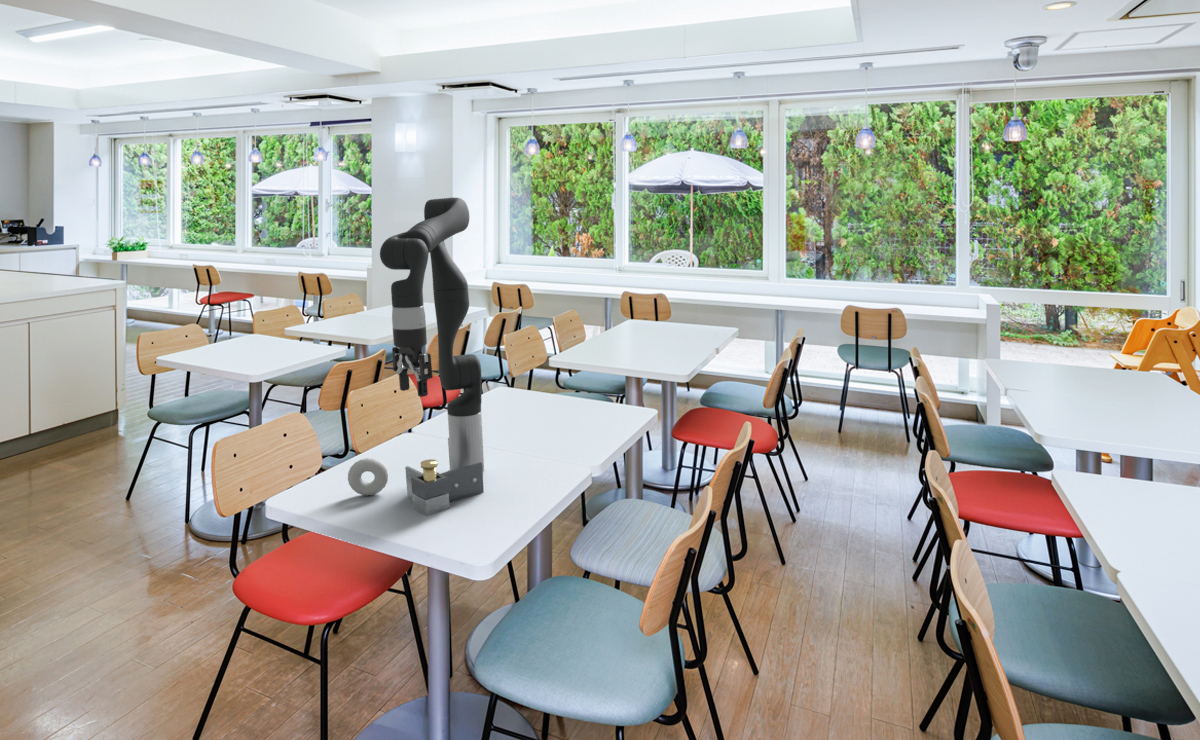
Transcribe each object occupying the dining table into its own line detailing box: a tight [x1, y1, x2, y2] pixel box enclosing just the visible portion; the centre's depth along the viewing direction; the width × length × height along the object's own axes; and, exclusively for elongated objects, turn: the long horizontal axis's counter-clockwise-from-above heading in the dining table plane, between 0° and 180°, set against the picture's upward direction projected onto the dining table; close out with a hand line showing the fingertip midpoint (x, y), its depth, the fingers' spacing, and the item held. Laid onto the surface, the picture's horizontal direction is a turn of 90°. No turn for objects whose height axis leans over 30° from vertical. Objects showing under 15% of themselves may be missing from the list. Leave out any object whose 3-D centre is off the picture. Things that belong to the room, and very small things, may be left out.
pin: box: [420, 458, 439, 482], centre depth 176 cm, size 4×4×12 cm
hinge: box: [404, 462, 485, 516], centre depth 183 cm, size 14×18×8 cm
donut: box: [347, 457, 389, 496], centre depth 185 cm, size 10×4×10 cm, turn 100°
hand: (413, 393), depth 170 cm, fingers open, 8 cm apart
